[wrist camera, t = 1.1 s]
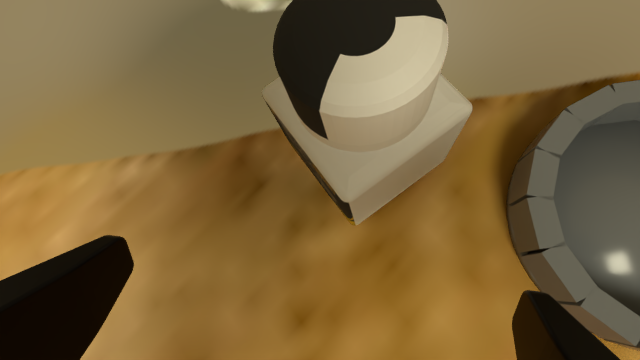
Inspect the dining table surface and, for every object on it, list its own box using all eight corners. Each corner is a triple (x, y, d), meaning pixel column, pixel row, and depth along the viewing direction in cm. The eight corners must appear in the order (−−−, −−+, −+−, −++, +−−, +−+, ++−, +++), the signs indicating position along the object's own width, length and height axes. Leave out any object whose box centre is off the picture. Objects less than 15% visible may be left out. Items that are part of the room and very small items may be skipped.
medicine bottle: (289, 143, 24) (213, 17, 13) (374, 81, 24) (376, -95, 13) (353, 228, 22) (333, 169, 10) (446, 160, 22) (523, 29, 11)
